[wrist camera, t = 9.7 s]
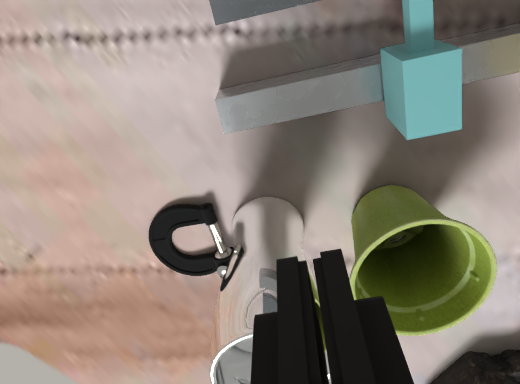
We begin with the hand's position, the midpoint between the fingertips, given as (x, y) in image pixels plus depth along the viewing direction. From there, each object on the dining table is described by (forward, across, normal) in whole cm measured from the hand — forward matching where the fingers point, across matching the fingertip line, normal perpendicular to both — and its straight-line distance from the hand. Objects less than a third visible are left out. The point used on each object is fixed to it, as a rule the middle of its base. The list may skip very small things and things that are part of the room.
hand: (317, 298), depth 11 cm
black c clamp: (+22, +10, +14) cm, 29 cm away
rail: (+22, -8, 0) cm, 23 cm away
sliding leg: (+21, -8, -4) cm, 22 cm away
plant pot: (+22, -6, +12) cm, 26 cm away
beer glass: (+22, +4, +11) cm, 25 cm away
